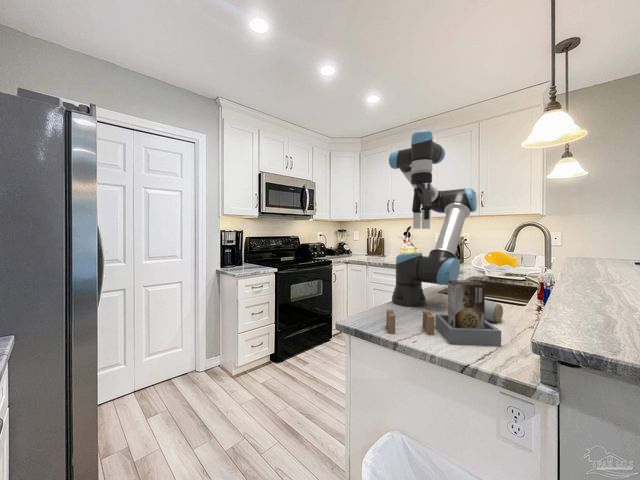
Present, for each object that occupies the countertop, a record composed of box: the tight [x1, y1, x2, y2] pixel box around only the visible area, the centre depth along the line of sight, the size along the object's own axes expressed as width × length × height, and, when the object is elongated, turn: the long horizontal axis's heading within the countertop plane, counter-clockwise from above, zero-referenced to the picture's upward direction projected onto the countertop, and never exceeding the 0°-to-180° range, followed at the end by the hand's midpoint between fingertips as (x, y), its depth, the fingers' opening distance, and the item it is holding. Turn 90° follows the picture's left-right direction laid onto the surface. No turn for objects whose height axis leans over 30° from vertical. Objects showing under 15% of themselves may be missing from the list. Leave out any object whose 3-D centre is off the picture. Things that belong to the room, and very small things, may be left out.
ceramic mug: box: [485, 299, 504, 323], centre depth 103 cm, size 11×8×8 cm
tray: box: [434, 313, 502, 347], centre depth 88 cm, size 14×14×4 cm
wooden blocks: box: [385, 308, 435, 336], centre depth 93 cm, size 7×14×6 cm, turn 83°
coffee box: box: [447, 279, 486, 329], centre depth 87 cm, size 9×6×16 cm
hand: (421, 228), depth 104 cm, fingers open, 13 cm apart
